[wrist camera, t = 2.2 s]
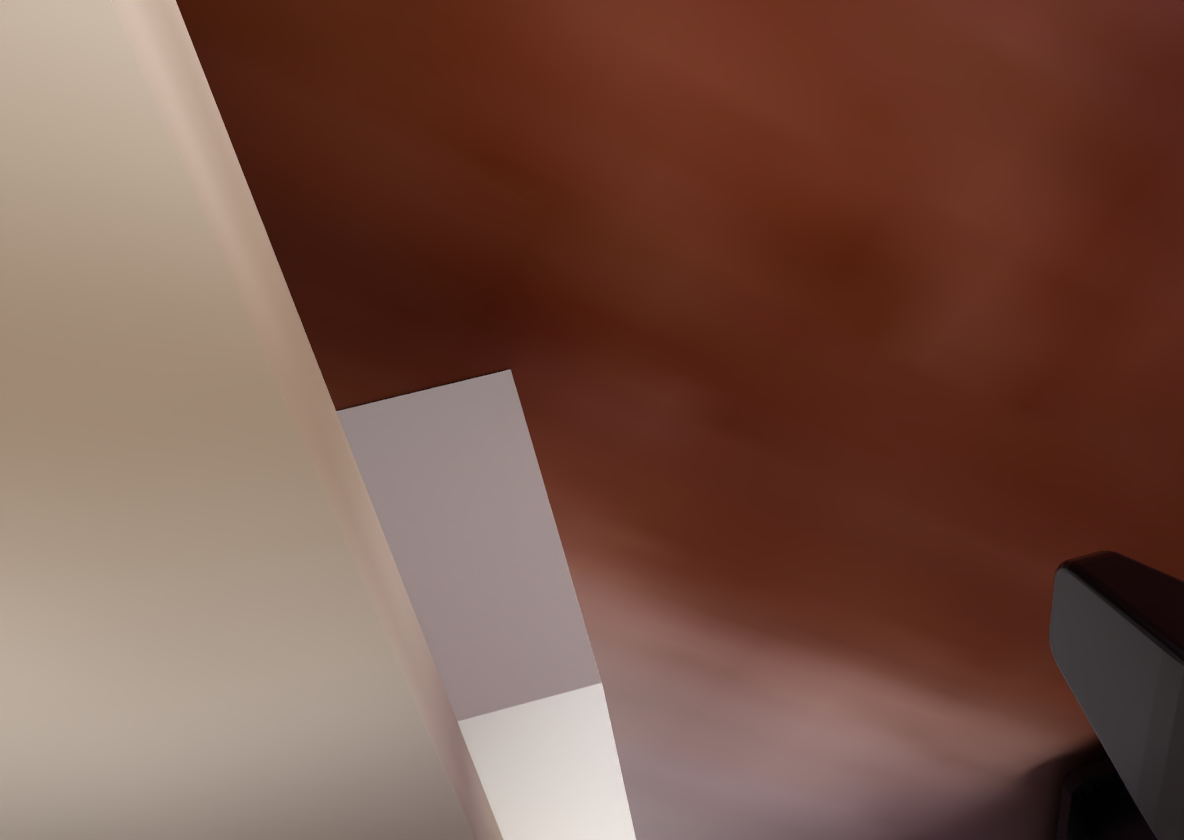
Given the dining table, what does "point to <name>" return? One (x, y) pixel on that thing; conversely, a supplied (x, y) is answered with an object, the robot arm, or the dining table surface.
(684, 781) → the dining table surface
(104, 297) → the catapult lever
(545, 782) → the lever fulcrum
